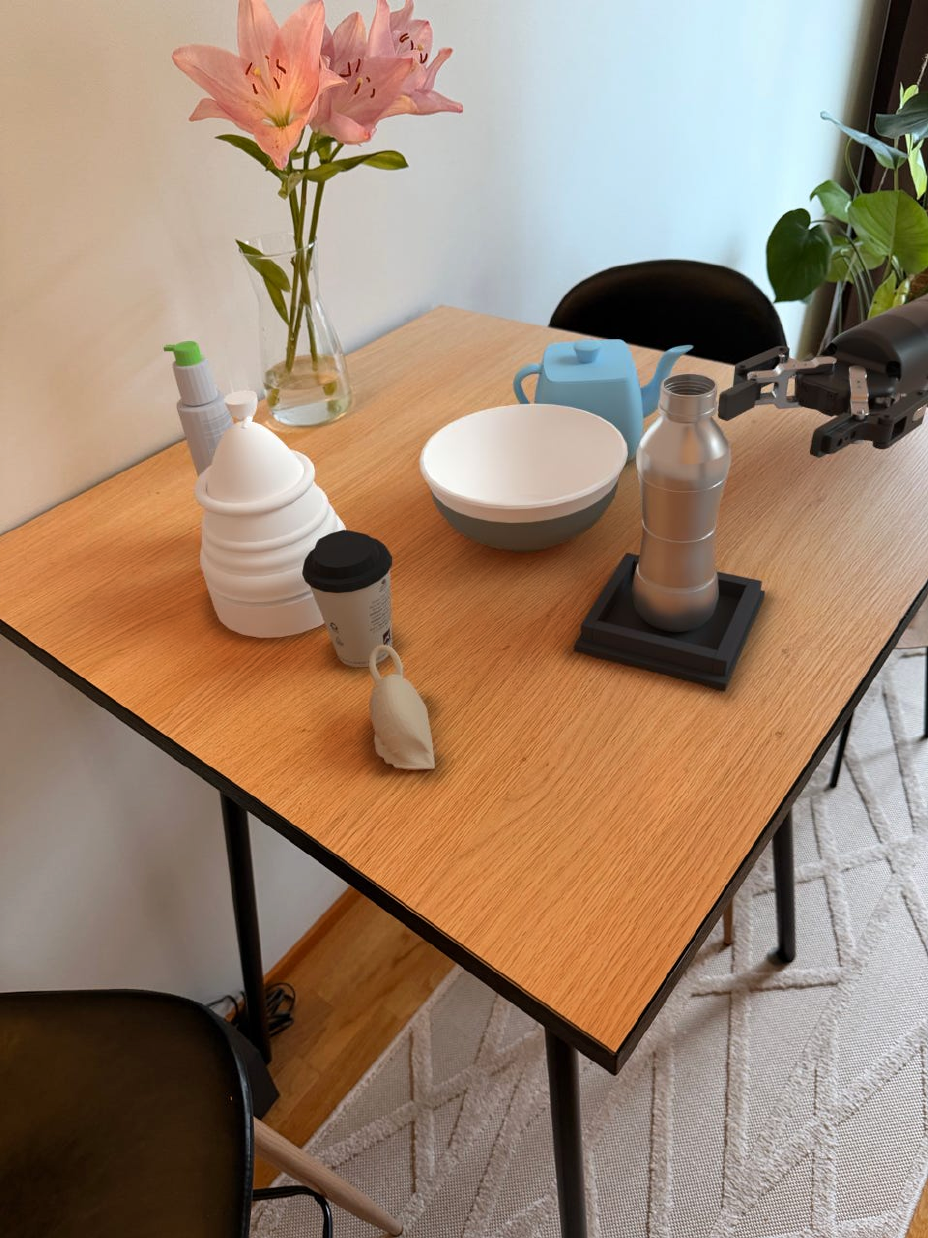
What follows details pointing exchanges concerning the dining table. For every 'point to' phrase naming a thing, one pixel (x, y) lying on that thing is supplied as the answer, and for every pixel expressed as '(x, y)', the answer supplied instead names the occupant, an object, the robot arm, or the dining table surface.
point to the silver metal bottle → (680, 505)
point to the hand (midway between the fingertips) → (766, 426)
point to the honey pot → (260, 528)
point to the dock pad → (674, 654)
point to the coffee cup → (352, 593)
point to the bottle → (199, 403)
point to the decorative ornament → (399, 718)
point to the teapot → (599, 383)
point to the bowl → (524, 474)
